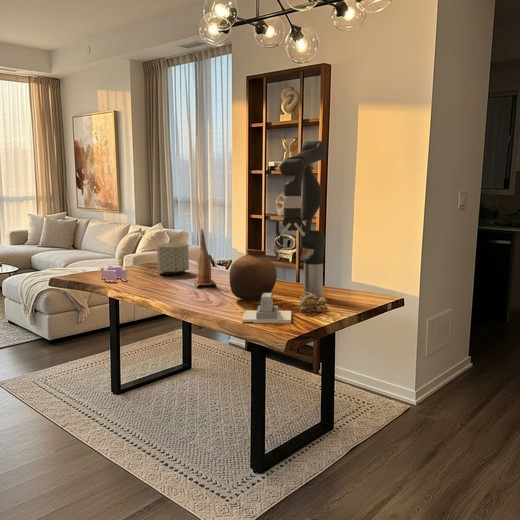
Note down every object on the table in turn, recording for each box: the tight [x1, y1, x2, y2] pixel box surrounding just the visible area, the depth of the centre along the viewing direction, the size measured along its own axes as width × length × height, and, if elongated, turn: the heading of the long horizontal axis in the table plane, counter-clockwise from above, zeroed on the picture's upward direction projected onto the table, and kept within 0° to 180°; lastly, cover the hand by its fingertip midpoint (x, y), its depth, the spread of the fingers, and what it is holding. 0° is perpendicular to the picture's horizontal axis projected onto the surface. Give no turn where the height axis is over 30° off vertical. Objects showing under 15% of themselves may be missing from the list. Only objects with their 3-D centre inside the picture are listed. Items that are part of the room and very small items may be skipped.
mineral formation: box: [298, 292, 329, 313], centre depth 228 cm, size 8×13×15 cm
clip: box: [100, 265, 128, 281], centre depth 300 cm, size 20×12×7 cm, turn 41°
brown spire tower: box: [194, 228, 217, 289], centre depth 278 cm, size 11×12×32 cm
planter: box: [156, 242, 190, 275], centre depth 315 cm, size 19×19×18 cm
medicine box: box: [260, 292, 274, 312], centre depth 214 cm, size 8×4×9 cm, turn 175°
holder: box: [241, 304, 292, 324], centre depth 215 cm, size 14×20×4 cm
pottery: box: [229, 248, 278, 302], centre depth 246 cm, size 23×23×25 cm
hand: (292, 244), depth 219 cm, fingers open, 8 cm apart
